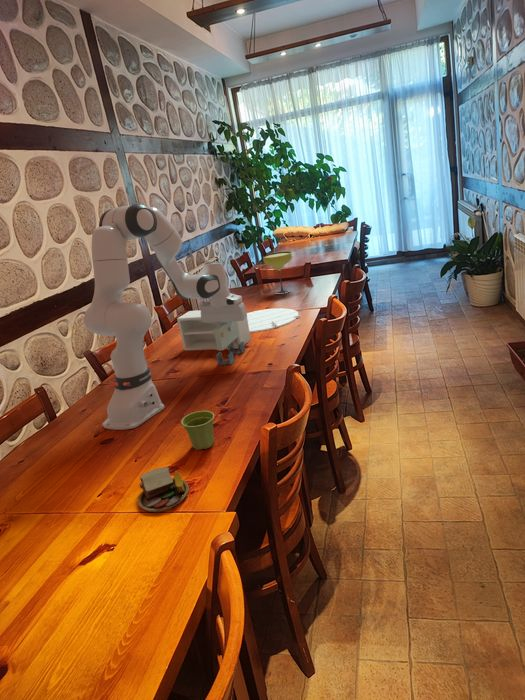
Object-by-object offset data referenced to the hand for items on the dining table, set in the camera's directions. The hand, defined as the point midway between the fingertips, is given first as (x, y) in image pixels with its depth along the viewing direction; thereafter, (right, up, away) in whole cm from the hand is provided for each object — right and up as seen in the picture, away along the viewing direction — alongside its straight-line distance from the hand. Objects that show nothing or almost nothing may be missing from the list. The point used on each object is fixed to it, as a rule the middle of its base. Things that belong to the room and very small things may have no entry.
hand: (226, 331), depth 199 cm
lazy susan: (+15, +7, +52) cm, 55 cm away
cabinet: (-6, -6, +24) cm, 26 cm away
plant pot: (-2, -36, -63) cm, 72 cm away
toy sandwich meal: (-9, -45, -83) cm, 95 cm away
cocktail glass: (+28, +29, +107) cm, 114 cm away
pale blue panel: (+1, -5, +2) cm, 5 cm away
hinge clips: (+2, -11, +4) cm, 12 cm away
